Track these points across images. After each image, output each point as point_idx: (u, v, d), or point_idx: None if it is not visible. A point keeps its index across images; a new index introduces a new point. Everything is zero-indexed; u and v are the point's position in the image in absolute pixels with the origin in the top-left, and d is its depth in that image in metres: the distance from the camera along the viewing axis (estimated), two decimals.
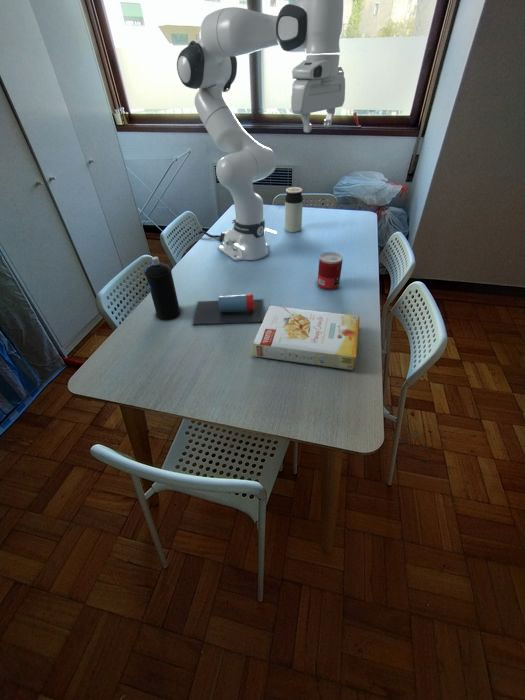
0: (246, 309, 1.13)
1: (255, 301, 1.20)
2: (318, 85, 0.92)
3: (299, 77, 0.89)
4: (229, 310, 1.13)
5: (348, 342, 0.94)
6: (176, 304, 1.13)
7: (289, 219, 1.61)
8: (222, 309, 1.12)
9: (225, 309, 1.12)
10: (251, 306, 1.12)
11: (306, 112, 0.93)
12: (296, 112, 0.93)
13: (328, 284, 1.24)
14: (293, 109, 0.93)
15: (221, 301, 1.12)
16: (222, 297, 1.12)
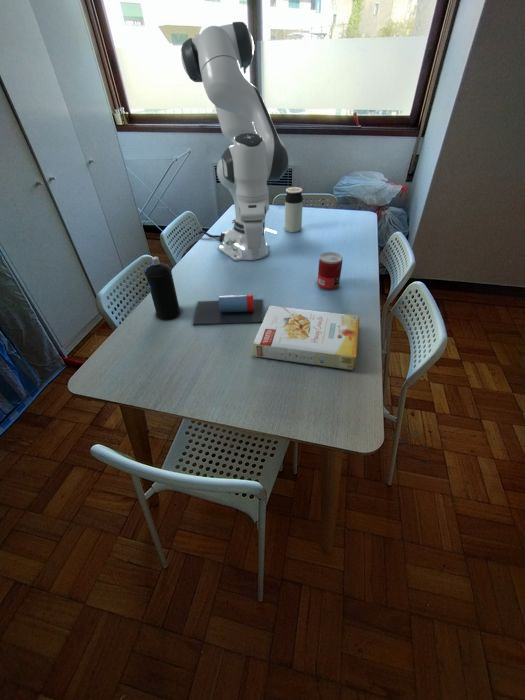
0: (246, 309, 1.13)
1: (255, 301, 1.20)
2: None
3: (251, 220, 0.90)
4: (230, 310, 1.13)
5: (348, 342, 0.94)
6: (176, 304, 1.13)
7: (289, 219, 1.61)
8: (222, 309, 1.12)
9: (225, 309, 1.12)
10: (251, 307, 1.12)
11: None
12: (254, 249, 0.94)
13: (328, 284, 1.24)
14: (250, 247, 0.93)
15: (221, 301, 1.12)
16: (222, 297, 1.12)
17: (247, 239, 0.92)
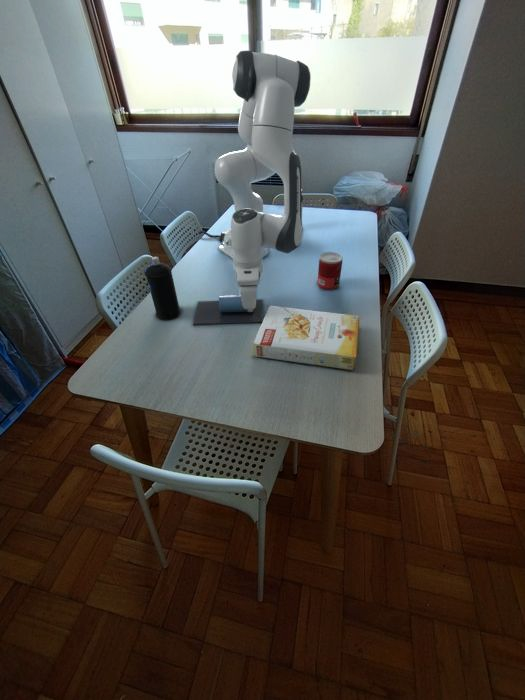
0: (246, 309, 1.13)
1: None
2: None
3: (246, 285, 1.00)
4: (230, 310, 1.13)
5: (348, 342, 0.94)
6: (176, 304, 1.13)
7: None
8: (222, 309, 1.12)
9: (225, 309, 1.12)
10: None
11: None
12: (249, 308, 1.04)
13: (328, 284, 1.24)
14: (246, 307, 1.03)
15: (221, 301, 1.12)
16: (222, 297, 1.12)
17: (243, 301, 1.02)
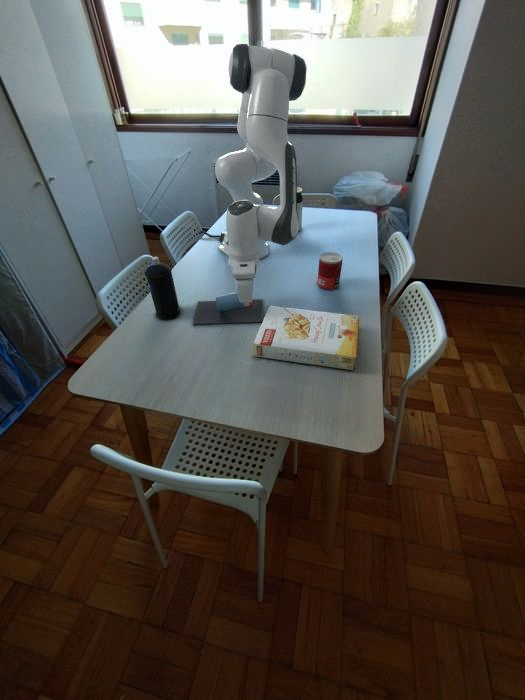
0: None
1: (255, 301, 1.20)
2: None
3: (242, 278, 0.98)
4: (228, 308, 1.12)
5: (348, 342, 0.94)
6: (176, 304, 1.13)
7: None
8: (220, 309, 1.12)
9: (224, 308, 1.12)
10: None
11: None
12: (245, 302, 1.02)
13: (328, 284, 1.24)
14: (242, 301, 1.02)
15: (218, 301, 1.12)
16: (219, 297, 1.12)
17: (239, 294, 1.00)
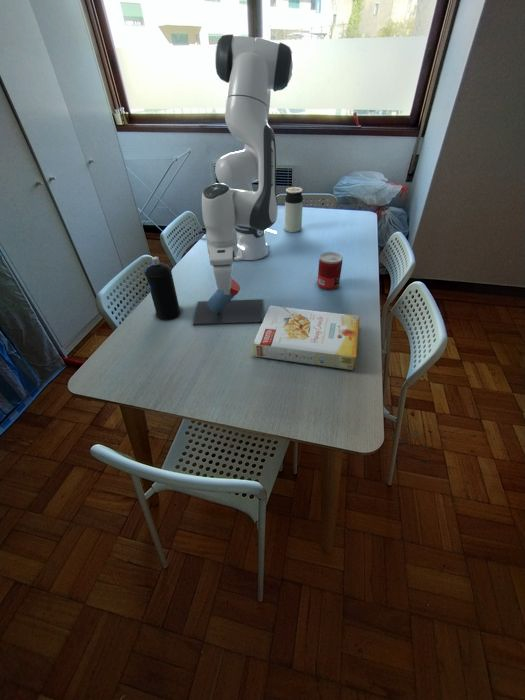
0: (230, 294, 1.09)
1: (255, 301, 1.20)
2: None
3: (220, 264, 0.95)
4: (220, 305, 1.12)
5: (348, 342, 0.94)
6: (176, 304, 1.13)
7: (289, 219, 1.61)
8: (215, 310, 1.13)
9: (217, 308, 1.12)
10: (231, 289, 1.07)
11: None
12: (224, 290, 0.99)
13: (328, 284, 1.24)
14: (220, 288, 0.99)
15: (209, 304, 1.12)
16: (209, 300, 1.13)
17: (217, 281, 0.97)
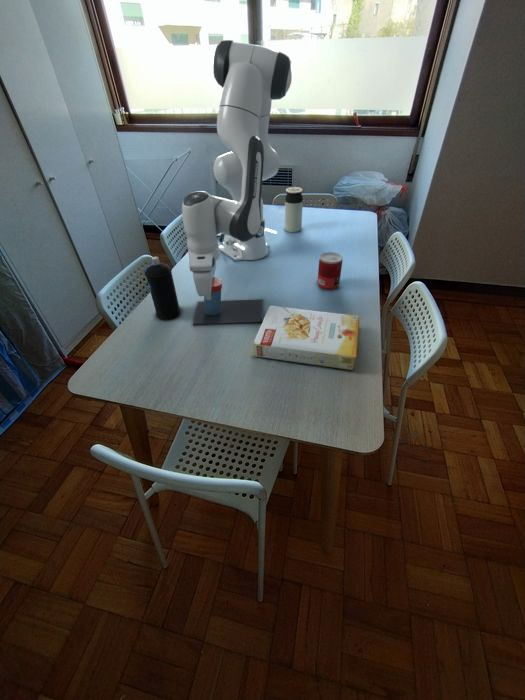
0: (214, 292, 1.08)
1: (255, 301, 1.20)
2: None
3: (199, 270, 0.97)
4: (214, 306, 1.12)
5: (348, 342, 0.94)
6: (176, 304, 1.13)
7: (289, 219, 1.61)
8: (212, 313, 1.13)
9: (212, 310, 1.13)
10: None
11: None
12: (204, 295, 1.01)
13: (328, 284, 1.24)
14: (200, 294, 1.00)
15: (205, 310, 1.14)
16: (204, 307, 1.15)
17: (196, 287, 0.99)
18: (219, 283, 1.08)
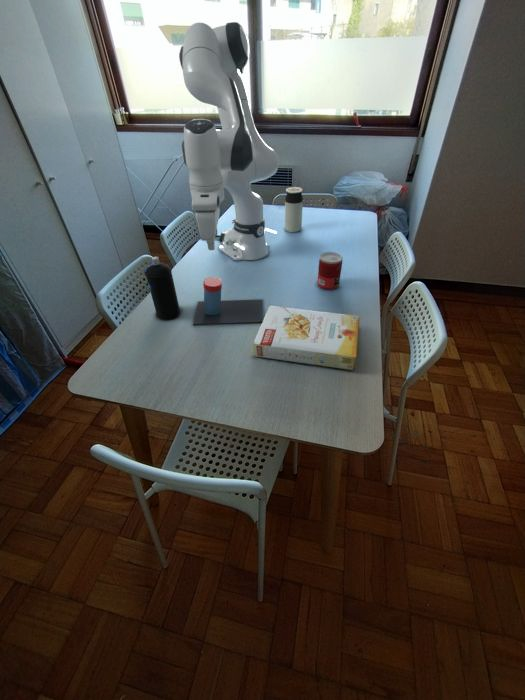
0: (214, 292, 1.08)
1: (255, 301, 1.20)
2: None
3: (203, 210, 0.88)
4: (214, 306, 1.12)
5: (348, 342, 0.94)
6: (176, 304, 1.13)
7: (289, 219, 1.61)
8: (212, 313, 1.13)
9: (212, 310, 1.13)
10: (210, 287, 1.07)
11: None
12: (207, 239, 0.92)
13: (328, 284, 1.24)
14: (204, 237, 0.91)
15: (205, 310, 1.14)
16: (204, 307, 1.15)
17: (200, 229, 0.90)
18: (219, 283, 1.08)
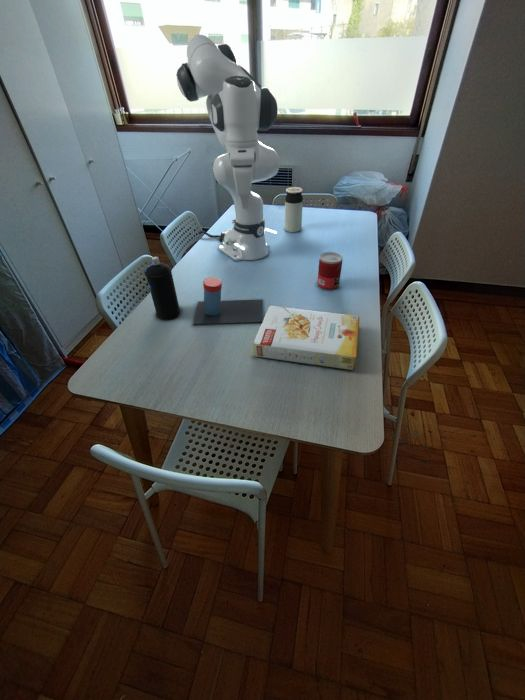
0: (214, 292, 1.08)
1: (255, 301, 1.20)
2: None
3: (240, 164, 0.91)
4: (213, 306, 1.12)
5: (348, 342, 0.94)
6: (176, 304, 1.13)
7: (289, 219, 1.61)
8: (212, 313, 1.13)
9: (212, 310, 1.13)
10: (210, 287, 1.07)
11: None
12: (243, 195, 0.95)
13: (328, 284, 1.24)
14: (240, 193, 0.94)
15: (205, 310, 1.14)
16: (204, 307, 1.15)
17: (237, 185, 0.93)
18: (219, 283, 1.08)
